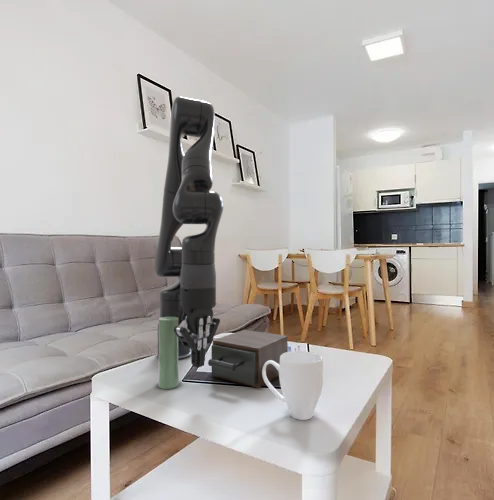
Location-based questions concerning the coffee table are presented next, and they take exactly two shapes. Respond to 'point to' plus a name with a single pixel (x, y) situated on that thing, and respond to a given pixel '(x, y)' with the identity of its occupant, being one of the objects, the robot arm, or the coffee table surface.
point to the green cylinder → (168, 353)
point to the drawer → (234, 364)
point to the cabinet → (261, 343)
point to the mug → (298, 382)
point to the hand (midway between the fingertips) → (198, 366)
